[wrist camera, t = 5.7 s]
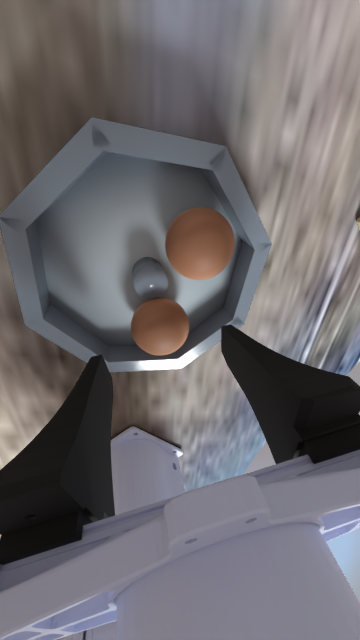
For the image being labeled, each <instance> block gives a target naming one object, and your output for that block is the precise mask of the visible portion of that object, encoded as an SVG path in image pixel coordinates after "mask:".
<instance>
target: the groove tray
mask: <svg viewBox="0 0 360 640" xmlns="http://www.w3.org/2000/svg"><path fill="white" fill-rule="evenodd" d="M197 207H205V208H210V209H213V210H215V211H217V212H219V213H220V214H221V215H223V216H224V217H225V218H226V219H227V221H228V222H229V224H230V225H231V228H232V230H233V233H234V238H235V246H234V252H233V256H232V258H231V260H230V262H229V264H228V265H227V266H226V268H225V269H224V270H223V271H222V272H221V273H219V274H218V275H216V276H214V277H212V278H209V279H205V280H193V279H189V278H186V277H184V276H182V275H181V274H179V273H178V272H177V271H176V270H175V269H174V268H173V267H172V265H171V264H170V262H169V260H168V257H167V255H166V250H165V240H166V235H167V231H168V229H169V227H170V225H171V223H172V222H173V221H174V219H175V218H176V217H177V216H179V215H180V214H181V213H183V212H184V211H186V210H189V209H192V208H197ZM0 228H1V232H2V236H3V240H4V244H5V248H6V252H7V256H8V260H9V264H10V268H11V272H12V276H13V280H14V284H15V288H16V292H17V296H18V300H19V304H20V308H21V312H22V316H23V320H24V324H25V326H27V327H28V328H30V329H32V330H33V331H35V332H36V333H38V334H40V335H41V336H43V337H45V338H46V339H48V340H50V341H51V342H53V343H55V344H56V345H58V346H59V347H61V348H63V349H64V350H66V351H68V352H69V353H71V354H73V355H74V356H76V357H78V358H79V359H81V360H82V361H84V362H86V363H88V361H89V359H90V358H91V357H92V356H97V355H101V354H102V356H103V358H104V360H105V363H106V365H107V368H108V370H109V372H110V373H111V372H129V371H147V370H164V369H181V368H183V367H184V366H186V365H187V364H189V363H190V362H191V361H193V360H194V359H196V358H197V357H198V356H200V355H201V354H203V353H204V352H205V351H207V350H208V349H210V348H211V347H213V346H214V345H215V344H217V343H218V342H220V341H221V326H225V325H229V324H231V325H233V326H234V327H236V328H237V329H238V328H239V327H241V326H242V325H244V323H245V320H246V317H247V314H248V311H249V308H250V305H251V302H252V300H253V297H254V294H255V291H256V288H257V285H258V282H259V279H260V277H261V274H262V271H263V268H264V265H265V262H266V259H267V256H268V253H269V251H270V248H271V245H272V244H271V242H270V239H269V237H268V235H267V233H266V231H265V229H264V227H263V224H262V222H261V220H260V218H259V216H258V214H257V212H256V209H255V207H254V205H253V203H252V201H251V199H250V197H249V194H248V192H247V190H246V188H245V186H244V184H243V182H242V179H241V177H240V175H239V173H238V171H237V169H236V167H235V164H234V162H233V160H232V158H231V156H230V154H229V152H228V149H227V147H226V146H223V145H219V144H214V143H209V142H205V141H200V140H196V139H191V138H186V137H182V136H177V135H172V134H168V133H163V132H158V131H154V130H149V129H144V128H140V127H135V126H130V125H126V124H121V123H117V122H112V121H107V120H103V119H98V118H93V117H91V118H90V119H89V121H88V122H87V123H86V124H85V125H84V126H83V127H82V128H81V129H80V130H79V131H78V132H77V133H76V134H75V135H74V136H73V138H72V139H71V140H70V141H69V142H68V143H67V144H66V145H65V146H64V147H63V148H62V149H61V150H60V151H59V152H58V153H57V155H56V156H55V157H54V158H53V159H52V160H51V161H50V162H49V163H48V164H47V165H46V166H45V167H44V168H43V169H42V170H41V171H40V173H39V174H38V175H37V176H36V177H35V178H34V179H33V180H32V181H31V182H30V183H29V184H28V185H27V186H26V187H25V188H24V190H23V191H22V192H21V193H20V194H19V195H18V196H17V197H16V198H15V199H14V200H13V201H12V202H11V203H10V204H9V205H8V206H7V208H6V209H5V210H4V211H3V212H2V213H1V214H0ZM158 297H162V298H168V299H171V300H173V301H175V302H177V303H178V304H179V305H180V306H181V307H182V308H183V309H184V311H185V312H186V314H187V317H188V320H189V333H188V336H187V339H186V340H185V342H184V344H183V345H182V346H181V347H180V348H179V349H178V350H176V351H175V352H173V353H171V354H168V355H152V354H149V353H147V352H145V351H144V350H142V349H141V348H140V347H139V346H138V345H137V344H136V342H135V341H134V339H133V336H132V333H131V320H132V317H133V314H134V312H135V311H136V309H137V308H138V307H139V306H140V305H141V304H142V303H144V302H145V301H147V300H149V299H155V298H158Z"/></svg>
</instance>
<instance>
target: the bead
mask: <svg viewBox="0 0 360 640" xmlns="http://www.w3.org/2000/svg"><path fill="white" fill-rule="evenodd" d="M131 333H132V336H133V339H134V341H135V342H136V344H137V345H138V346H139V347H140V348H141V349H142V350H144V351H145V352H147V353H149V354H152V355H168V354H171V353H173V352H175V351H176V350H178V349H179V348H180V347H181V346H182V345H183V344H184V342H185V340H186V339H187V336H188V333H189V320H188V317H187V314H186V312H185V311H184V309H183V308H182V307H181V306H180V305H179V304H178V303H177V302H175V301H173V300H171V299H168V298H162V297H158V298H155V299H149V300H147V301H145V302H144V303H142V304H141V305H140V306H139V307H138V308H137V309H136V311H135V312H134V314H133V317H132V320H131Z"/></svg>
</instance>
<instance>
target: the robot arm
mask: <svg viewBox="0 0 360 640" xmlns="http://www.w3.org/2000/svg"><path fill="white" fill-rule="evenodd" d="M221 348H222V354H223V356H224V358H225V361H226V363H227V365H228V367H229V368H230V370H231V372H232V373H233V375H234V377H235V378H236V380H237V382H238V383H239V385H240V387H241V388H242V390H243V392H244V393H245V395H246V397H247V399H248V401H249V403H250V405H251V407H252V409H253V411H254V413H255V415H256V418H257V420H258V422H259V424H260V427H261V429H262V431H263V433H264V436H265V438H266V441H267V443H268V445H269V448H270V450H271V453H272V455H273V458H274V460H275V463H276V465H273V466H270V467H266V468H263V469H260V470H257V471H254V472H251V473H247V474H244V475H241V476H236V477H233V478H229V479H226V480H223V481H220V482H217V483H214V484H211V485H207V486H204V487H201V488H198V489H195V490H192V491H188V492H185V490H184V485H183V480H182V476H181V471H180V466H179V461H178V457H179V456H181V455H182V454H183V451H182V450H181V449H179V448H177V447H175V446H173V445H171V444H169V443H167V442H165V441H163V440H161V439H159V438H157V437H155V436H153V435H151V434H149V433H147V432H145V431H143V430H140V429H138V428H136V427H130V428H128V429H127V430H125V431H124V432H122V433H121V434H119V435H118V436H116V437H115V438H114V439H112V440H111V439H110V438H111V419H112V404H113V385H112V377H111V375H110V372H109V370H108V368H107V365H106V363H105V360H104V358H103V356H102V354H101V355H97V356H92V357H91V358H90V359H89V361H88V363H87V365H86V367H85V369H84V371H83V372H82V374H81V376H80V378H79V380H78V381H77V383H76V385H75V386H74V388H73V390H72V391H71V393H70V394H69V396H68V397H67V399H66V400H65V402H64V403H63V405H62V406H61V407H60V409H59V410H58V411H57V413H56V414H55V415H54V417H53V418H52V419H51V420H50V421H49V423H48V424H47V425H46V426H45V427H44V428H43V429H42V430H41V432H40V433H39V434H38V435H37V436H36V437H35V438H34V439H33V440H32V441H31V442H30V443H29V444H28V445H27V446H26V447H25V448H24V449H23V450H22V451H21V452H20V453H19V454H18V455H17V456H16V457H15V458H14V459H13V460H11V461H10V462H9V463H8V464H7V465H6V466H5V467H4V468H2V469H1V470H0V534H1V535H2V536H1V539H0V640H56V639H59V638H63V637H66V636H67V638H66V640H360V603H359V601H358V599H357V597H356V596H355V594H354V592H353V590H352V588H351V587H350V585H349V583H348V581H347V580H346V578H345V576H344V574H343V572H342V570H341V569H340V567H339V565H338V563H337V561H336V560H335V558H334V556H333V554H332V552H331V551H330V549H329V547H328V545H327V543H326V542H328V541H330V540H333V539H335V538H337V537H339V536H342V535H344V534H346V533H349V532H351V531H353V530H355V529H358V528H360V415H359V414H358V413H359V411H360V386H359V385H358V384H357V383H355V382H354V381H353V380H352V379H351V378H350V377H348V376H344V375H340V374H336V373H332V372H328V371H324V370H321V369H317V368H314V367H311V366H308V365H305V364H302V363H300V362H297V361H295V360H292V359H290V358H287V357H285V356H283V355H281V354H279V353H277V352H275V351H273V350H271V349H269V348H267V347H265V346H263V345H262V344H260V343H258V342H257V341H255V340H254V339H252V338H250V337H249V336H247V335H246V334H244V333H243V332H241V331H240V330H238V329H237V328H236V327H234V326H233V325H231V324H229V325H225V326H221Z"/></svg>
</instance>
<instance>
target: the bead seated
mask: <svg viewBox="0 0 360 640" xmlns="http://www.w3.org/2000/svg"><path fill="white" fill-rule="evenodd" d="M234 246H235V238H234V233H233V230H232V228H231V225H230V224H229V222H228V221H227V219H226V218H225V217H224V216H223V215H221V214H220V213H219V212H217V211H215V210H213V209H210V208H205V207H197V208H192V209H189V210H186V211H184V212H183V213H181V214H180V215H179V216H177V217H176V218H175V219H174V221H173V222H172V223H171V225H170V227H169V229H168V231H167V235H166V240H165V250H166V255H167V257H168V260H169V262H170V264H171V265H172V267H173V268H174V269H175V270H176V271H177V272H178V273H179V274H181V275H182V276H184V277H186V278H189V279H193V280H205V279H209V278H212V277H214V276H216V275H218V274H219V273H221V272H222V271H223V270H224V269H225V268H226V266H227V265H228V264H229V262H230V260H231V258H232V256H233V252H234Z"/></svg>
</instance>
